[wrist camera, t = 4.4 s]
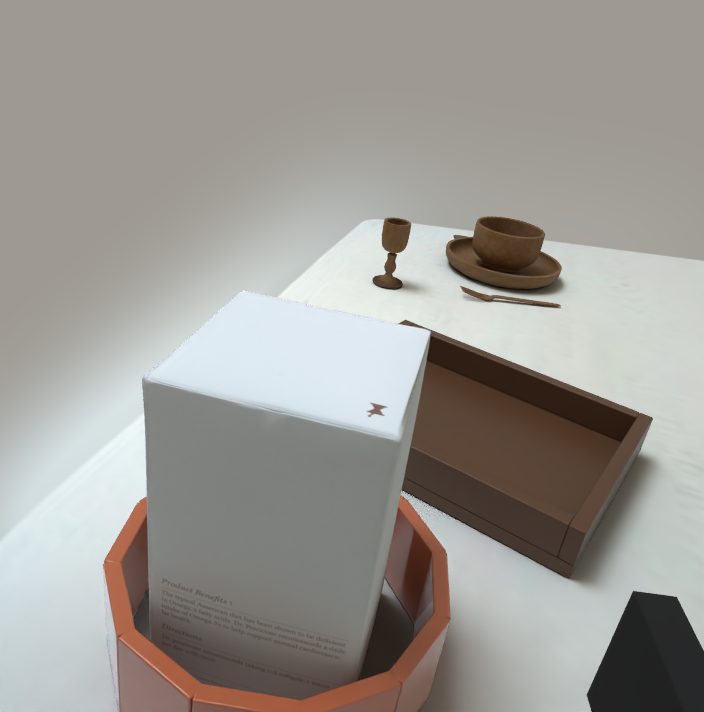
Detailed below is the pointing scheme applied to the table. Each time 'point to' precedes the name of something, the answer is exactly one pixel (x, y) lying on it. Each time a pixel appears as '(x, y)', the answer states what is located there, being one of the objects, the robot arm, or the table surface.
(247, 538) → the white packaging box
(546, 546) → the tray
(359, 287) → the table surface
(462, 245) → the place setting
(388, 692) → the terracotta ring
